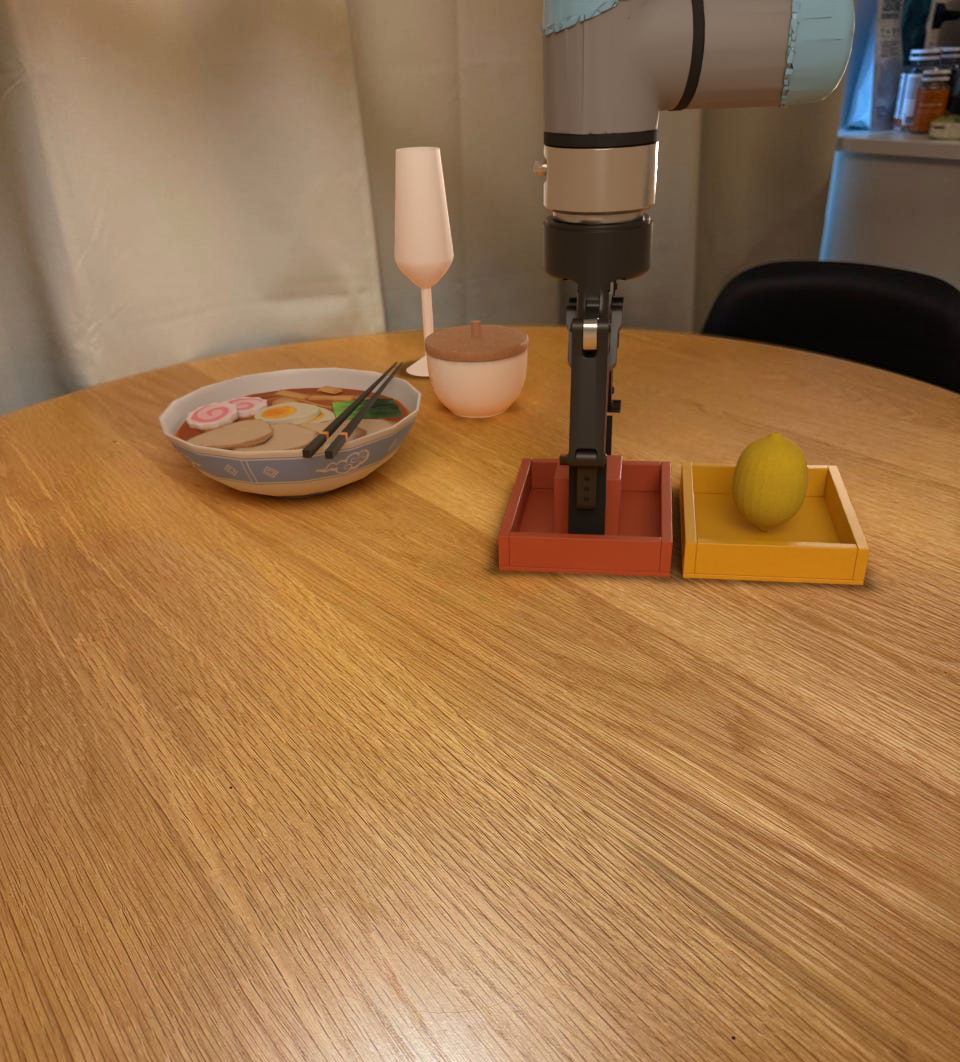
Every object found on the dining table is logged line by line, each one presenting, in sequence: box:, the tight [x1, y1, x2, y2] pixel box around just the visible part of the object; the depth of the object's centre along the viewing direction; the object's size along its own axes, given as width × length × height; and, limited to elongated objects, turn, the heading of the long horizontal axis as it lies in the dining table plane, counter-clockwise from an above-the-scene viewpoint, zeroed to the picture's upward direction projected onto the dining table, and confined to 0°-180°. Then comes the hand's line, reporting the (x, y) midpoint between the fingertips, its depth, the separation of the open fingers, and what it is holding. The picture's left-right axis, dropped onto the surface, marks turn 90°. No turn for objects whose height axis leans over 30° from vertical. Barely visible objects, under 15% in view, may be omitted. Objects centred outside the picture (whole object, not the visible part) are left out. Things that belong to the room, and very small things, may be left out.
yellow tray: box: [679, 461, 871, 586], centre depth 78 cm, size 13×16×3 cm
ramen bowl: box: [157, 361, 422, 499], centre depth 89 cm, size 25×23×8 cm
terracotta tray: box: [497, 457, 674, 578], centre depth 80 cm, size 13×16×3 cm
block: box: [554, 453, 624, 536], centre depth 79 cm, size 5×5×5 cm
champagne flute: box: [393, 146, 455, 377], centre depth 114 cm, size 7×7×24 cm
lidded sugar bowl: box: [424, 319, 530, 419], centre depth 105 cm, size 11×11×9 cm
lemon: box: [732, 431, 808, 531], centre depth 76 cm, size 6×6×8 cm
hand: (590, 515), depth 80 cm, fingers open, 9 cm apart
